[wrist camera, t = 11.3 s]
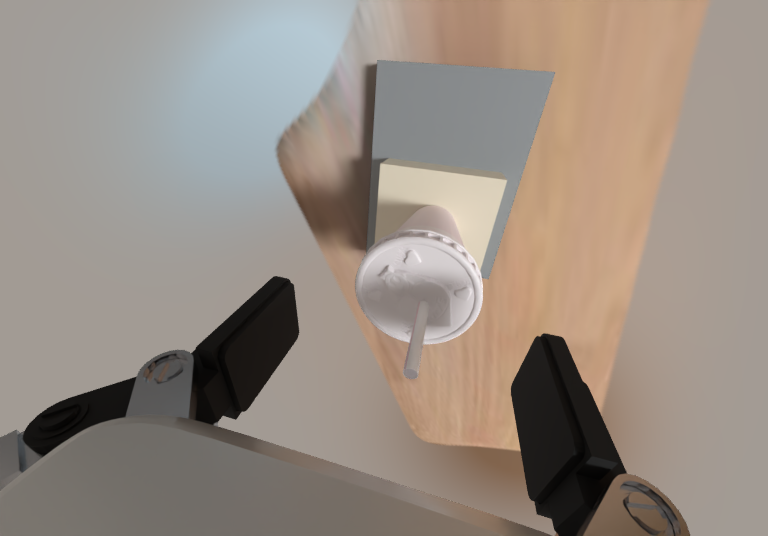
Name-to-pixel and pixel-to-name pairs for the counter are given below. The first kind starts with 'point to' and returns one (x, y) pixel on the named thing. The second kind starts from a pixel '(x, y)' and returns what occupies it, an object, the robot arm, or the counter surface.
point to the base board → (452, 147)
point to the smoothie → (420, 283)
